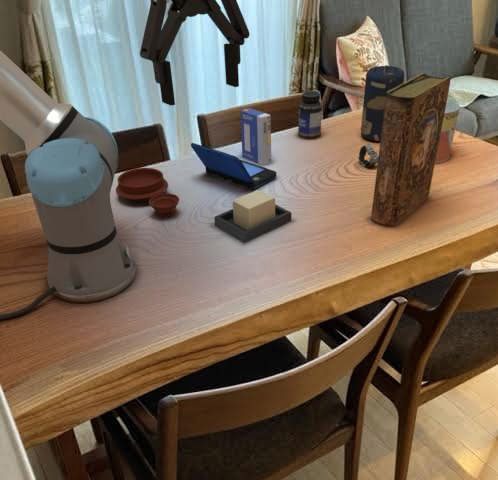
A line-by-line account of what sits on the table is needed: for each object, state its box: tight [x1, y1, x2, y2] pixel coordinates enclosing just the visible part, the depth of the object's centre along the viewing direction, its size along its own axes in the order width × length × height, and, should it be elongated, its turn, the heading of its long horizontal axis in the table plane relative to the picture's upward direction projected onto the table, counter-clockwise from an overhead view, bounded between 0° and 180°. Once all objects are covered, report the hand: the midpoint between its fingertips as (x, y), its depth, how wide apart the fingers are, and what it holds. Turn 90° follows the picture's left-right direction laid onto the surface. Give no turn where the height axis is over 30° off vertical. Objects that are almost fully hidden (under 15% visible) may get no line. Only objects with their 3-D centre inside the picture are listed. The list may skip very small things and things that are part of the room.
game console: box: [190, 142, 277, 190], centre depth 125 cm, size 16×13×9 cm
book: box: [370, 72, 452, 228], centre depth 105 cm, size 16×6×25 cm, turn 141°
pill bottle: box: [297, 90, 323, 140], centre depth 144 cm, size 6×6×11 cm
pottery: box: [115, 167, 180, 218], centre depth 118 cm, size 12×20×4 cm, turn 35°
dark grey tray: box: [213, 204, 292, 243], centre depth 110 cm, size 13×10×2 cm
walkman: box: [239, 107, 272, 166], centre depth 132 cm, size 8×3×12 cm, turn 43°
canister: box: [360, 64, 405, 142], centre depth 139 cm, size 10×10×18 cm
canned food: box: [435, 99, 461, 164], centre depth 131 cm, size 11×11×12 cm
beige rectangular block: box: [232, 189, 276, 230], centre depth 109 cm, size 7×5×5 cm
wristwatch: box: [357, 143, 379, 168], centre depth 130 cm, size 3×5×5 cm
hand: (201, 94), depth 92 cm, fingers open, 13 cm apart
